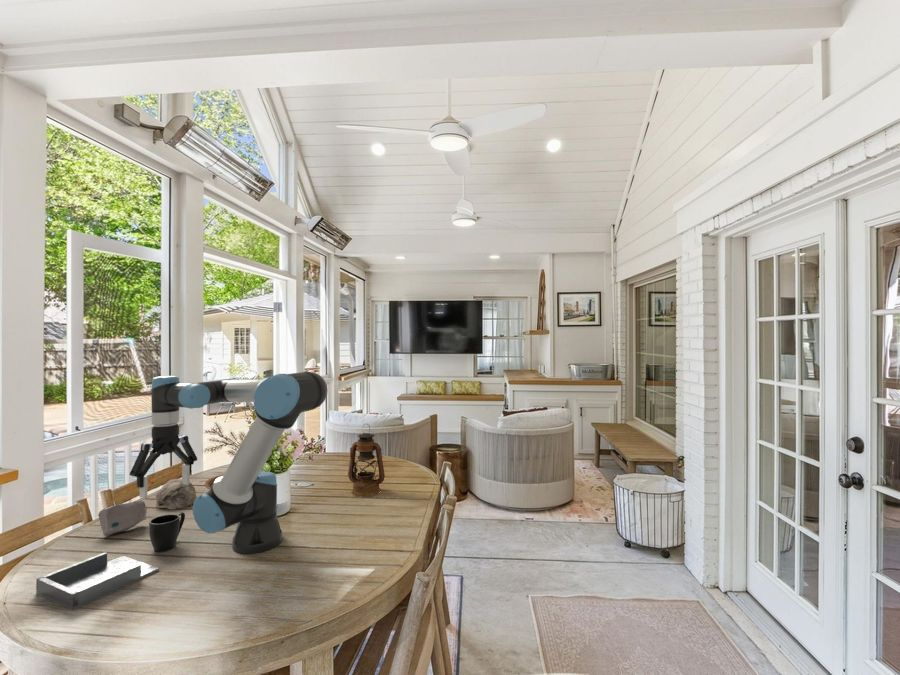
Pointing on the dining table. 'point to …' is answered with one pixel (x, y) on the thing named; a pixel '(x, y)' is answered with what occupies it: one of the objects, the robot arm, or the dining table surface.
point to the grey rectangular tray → (91, 580)
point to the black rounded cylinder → (165, 531)
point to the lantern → (366, 479)
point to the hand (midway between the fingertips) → (165, 490)
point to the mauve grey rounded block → (122, 517)
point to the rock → (175, 495)
